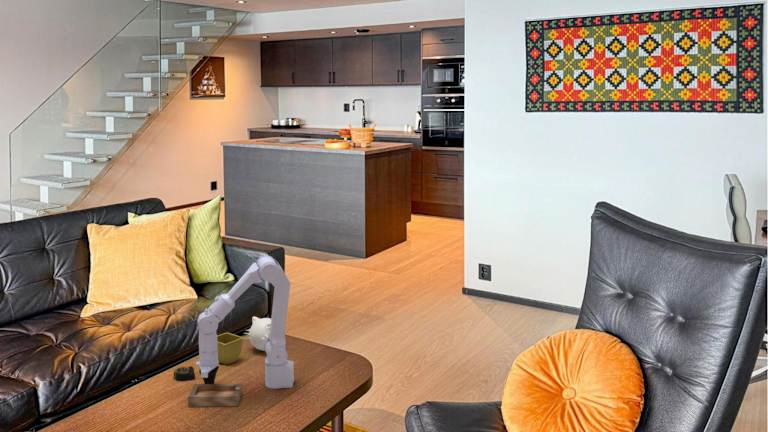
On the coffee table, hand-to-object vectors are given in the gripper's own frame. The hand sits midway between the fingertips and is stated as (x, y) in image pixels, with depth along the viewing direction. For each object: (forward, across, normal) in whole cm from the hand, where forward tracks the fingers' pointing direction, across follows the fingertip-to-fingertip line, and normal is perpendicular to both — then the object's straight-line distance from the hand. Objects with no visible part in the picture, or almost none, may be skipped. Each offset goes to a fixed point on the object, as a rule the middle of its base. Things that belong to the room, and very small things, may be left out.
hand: (209, 389), depth 217 cm
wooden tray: (+1, +5, +3) cm, 6 cm away
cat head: (+2, -38, +14) cm, 40 cm away
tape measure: (+2, -12, -10) cm, 16 cm away
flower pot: (+2, -27, +1) cm, 27 cm away
